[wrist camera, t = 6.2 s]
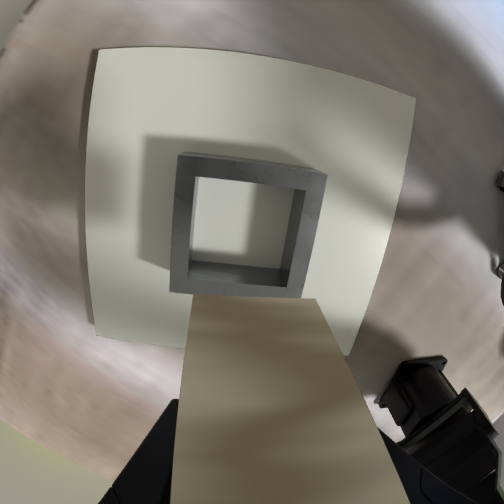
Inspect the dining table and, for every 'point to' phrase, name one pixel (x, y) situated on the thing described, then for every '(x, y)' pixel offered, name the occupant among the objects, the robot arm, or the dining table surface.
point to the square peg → (273, 411)
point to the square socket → (241, 276)
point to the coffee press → (503, 185)
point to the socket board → (234, 192)
